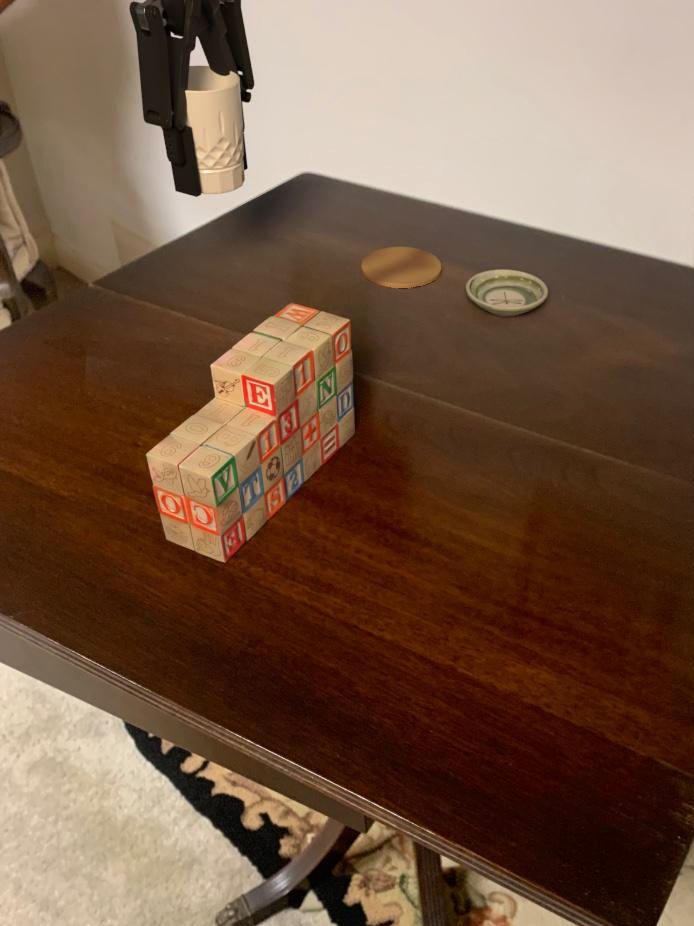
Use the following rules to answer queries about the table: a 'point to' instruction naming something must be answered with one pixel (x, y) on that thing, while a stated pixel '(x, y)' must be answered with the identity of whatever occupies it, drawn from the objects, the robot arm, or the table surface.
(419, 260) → the cork coaster
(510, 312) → the saucer
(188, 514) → the stack of blocks
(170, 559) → the table surface
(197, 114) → the white cup
